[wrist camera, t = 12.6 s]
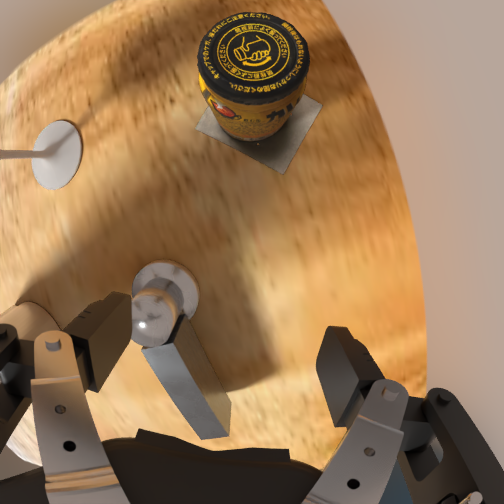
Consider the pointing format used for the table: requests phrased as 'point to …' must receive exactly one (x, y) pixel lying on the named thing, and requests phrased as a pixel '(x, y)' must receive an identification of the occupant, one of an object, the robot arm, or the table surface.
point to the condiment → (256, 87)
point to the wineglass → (52, 155)
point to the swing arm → (179, 358)
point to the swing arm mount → (175, 274)
